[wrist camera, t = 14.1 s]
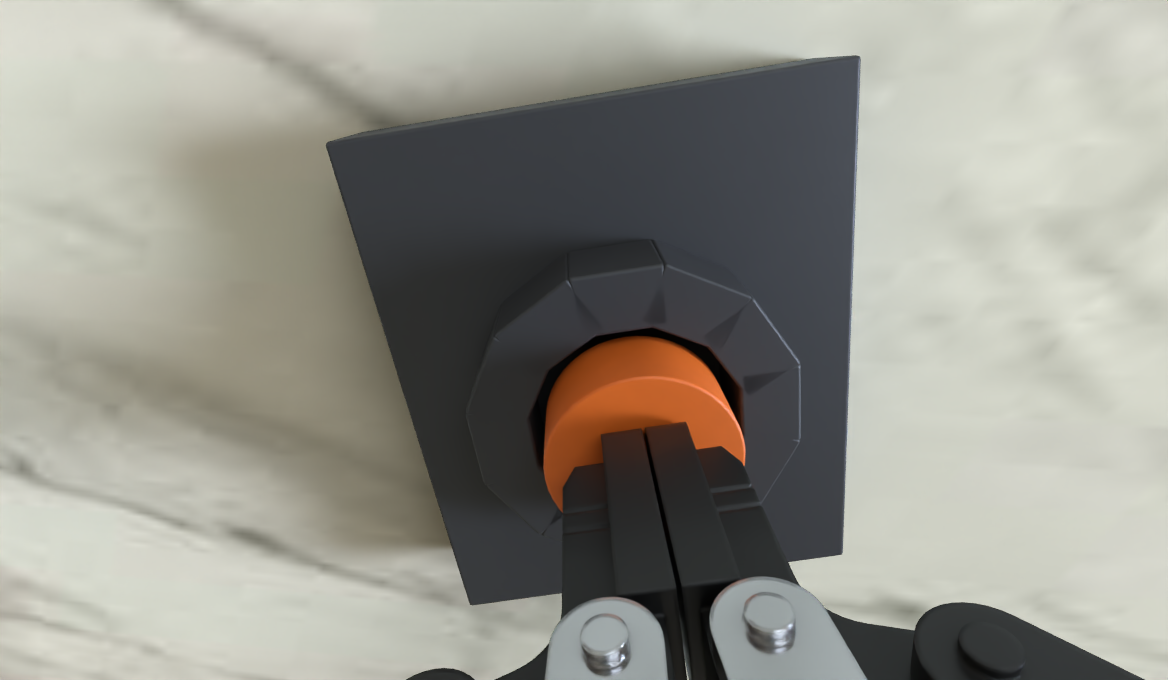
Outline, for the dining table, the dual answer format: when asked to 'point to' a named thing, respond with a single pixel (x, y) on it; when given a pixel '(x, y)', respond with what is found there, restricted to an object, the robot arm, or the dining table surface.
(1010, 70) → the dining table surface
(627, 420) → the button
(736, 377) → the button block
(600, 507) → the robot arm
